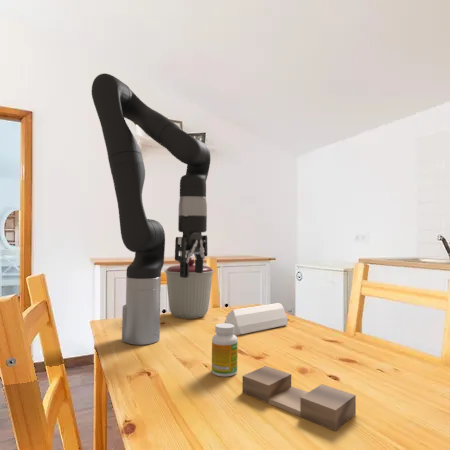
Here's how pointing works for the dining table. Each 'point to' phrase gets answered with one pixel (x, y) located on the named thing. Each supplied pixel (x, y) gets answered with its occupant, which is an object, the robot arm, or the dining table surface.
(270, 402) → the brown wooden cradle
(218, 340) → the supplement bottle
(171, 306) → the canister
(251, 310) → the crystal
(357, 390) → the dining table surface
